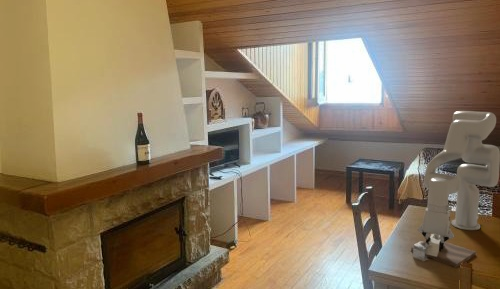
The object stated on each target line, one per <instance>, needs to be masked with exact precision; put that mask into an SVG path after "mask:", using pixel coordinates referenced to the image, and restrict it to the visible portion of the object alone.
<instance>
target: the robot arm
mask: <svg viewBox="0 0 500 289" xmlns="http://www.w3.org/2000/svg"><path fill="white" fill-rule="evenodd" d="M496 124H497V116H496V115H495V114H494V113H493V112H489V111H475V110H474V111H473V110H457V111H455V112H453V115H452V122H451V123H450V125H449V129H448V132H447V134H446V135H447V136H446V139H445V142H444V146H443V150H442V151H441V152H439V153H437V154H436V155H435V156H434V157H433V158H432V159H431V160H430V161H429V162H428V164H427V167H426V170H425V173H424V176H423V177H424V178H423V186H424V187H425V188H426V189H428V191H427V194H428V196H427V206H426V208H425V210H424V213H423V218H422V224H421V225H420V226H419V227H418V228H417V231H418V232H419V234H422V236H423V237H424V239H425V240H426V243H429V241H430V239H431V238H430V236H431V234H435V235H439V236H440V239H441V240H440V242H439V251H440V252H441V250H442V249H443V248H444V242H448V241H449V240H450V239H451V240H452V239H454V238H455V235H454V233H453V231H452V230H451V225H452V226H453V227H455V228H458V229H460V230H465V231H477V230H480V228H481V224H479V223H478V219H479V215H478V214H479V205H480V204H479V203H480V202H479V201H480V195H481V194H480V191H479V188H478V187H477V186H481V187H488V188H489V187H490V188H493V187H496V186H497V185H498V183H499V178H500V148H499V147H498V146H496V145H493V144H484V143H483V141H485V140H486V139H487V138H488V136H490V134H491V133H492V132H493V130H494V129H495V128H496ZM459 159H462V161H463V162H465V163H462V164H460V165H459V166H458V167H457V168H456V169H457V170H456V176H455V175H451V174H445V173H440V172H439V173H438V172H436V170H437V169H438V167H439V166H441V165H443V164H445V163H447V162H451V161H455V160H459ZM476 185H477V186H476ZM453 194H457V195H456V203H455V204H456V205H455V216H454V217H455V218H454V219H451V214H450V211H452V207H451V206H449V195H453Z"/></svg>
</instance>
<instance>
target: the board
mask: <svg viewBox="0 0 500 289" xmlns="http://www.w3.org/2000/svg"><path fill="white" fill-rule="evenodd" d="M423 242H426V239H425V240H423ZM410 251H412V252H413V246H412V247H411V250H410ZM476 254H477V251H475V250H472V249H469V248H466V247H463V246H461V245H457V244H453V243H451V242H448V241H445V242H444V248H443V249H442V250H441V252H440V251H439V253H438V255H437V257H436V256H432V255H427V258H430V259H432V260H435V261H437V262H438V261H439V262H440V263H443V264H446V265H449V266H452V267H454V268H458V267H460V266H461V265H462V264H461V263H462V262H464V263H465V262H467V261H469V260H470V259H472V258H473V257H475V256H476ZM460 264H461V265H460Z"/></svg>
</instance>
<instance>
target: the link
mask: <svg viewBox="0 0 500 289" xmlns="http://www.w3.org/2000/svg"><path fill="white" fill-rule="evenodd" d="M430 238H431V239H430V241H429V244H432V245H433V246H432V249H430V250H428V251H427V255H432V256H436V257H437V255H438V253H439V242H440V240H441V239H440V235H439V239H435V238H434V234H431V233H430Z"/></svg>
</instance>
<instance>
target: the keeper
mask: <svg viewBox="0 0 500 289" xmlns="http://www.w3.org/2000/svg"><path fill="white" fill-rule="evenodd" d="M423 241H424V240H423ZM423 241H422V240H419V241H418V242H416V243H414V244H413V245H412V247H413V251H412V258H413V259H416V260H420V261H422V262H426V261H427V260H428V259H427V258H428V257H427V251H428V250H430V249H432V246H433V245H432V244H429V243H426V242H423Z"/></svg>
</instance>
